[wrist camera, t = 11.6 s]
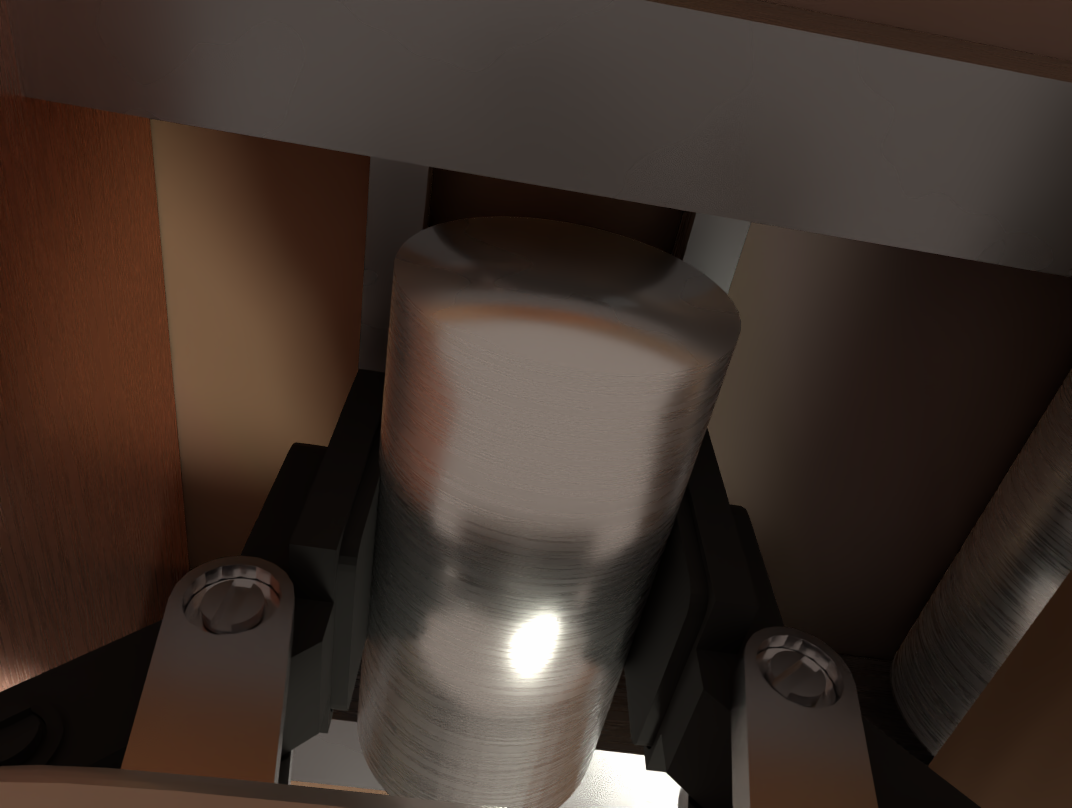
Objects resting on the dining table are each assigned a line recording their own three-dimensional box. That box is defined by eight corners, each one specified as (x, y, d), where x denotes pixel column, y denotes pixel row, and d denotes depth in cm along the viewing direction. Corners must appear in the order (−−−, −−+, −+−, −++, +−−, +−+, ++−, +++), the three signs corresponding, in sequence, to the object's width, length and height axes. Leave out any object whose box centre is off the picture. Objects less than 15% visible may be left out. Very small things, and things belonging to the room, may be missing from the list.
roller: (714, 248, 11) (774, 404, 8) (593, 639, 15) (597, 850, 12) (424, 196, 11) (355, 332, 7) (384, 607, 15) (328, 813, 12)
